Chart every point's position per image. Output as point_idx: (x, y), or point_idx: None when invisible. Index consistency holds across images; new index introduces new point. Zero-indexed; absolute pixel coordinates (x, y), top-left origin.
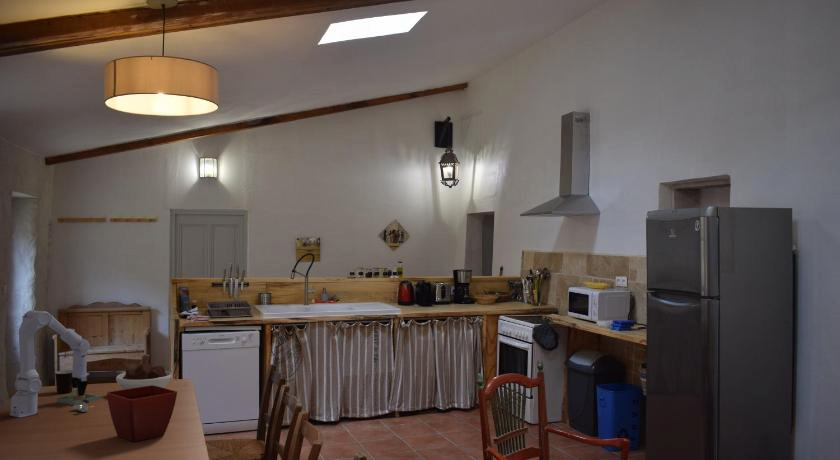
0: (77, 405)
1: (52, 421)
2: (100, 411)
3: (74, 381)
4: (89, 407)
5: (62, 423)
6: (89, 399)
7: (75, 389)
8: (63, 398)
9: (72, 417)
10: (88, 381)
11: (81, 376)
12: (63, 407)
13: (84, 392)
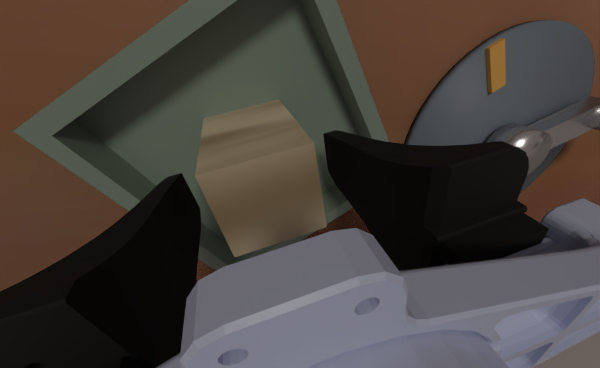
0: (536, 160)
1: (536, 217)
2: (589, 13)
3: (182, 325)
4: (504, 81)
5: (587, 186)
6: (357, 71)
7: (313, 230)
8: (215, 248)
9: (553, 160)
10: (514, 153)
11: (549, 332)
12: (346, 212)
13: (351, 135)
